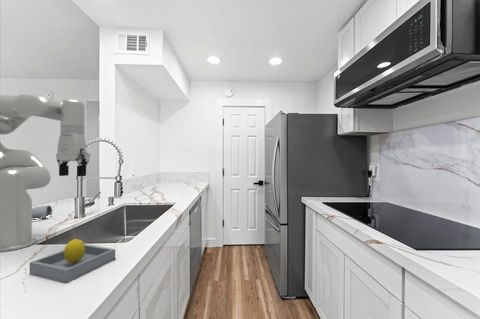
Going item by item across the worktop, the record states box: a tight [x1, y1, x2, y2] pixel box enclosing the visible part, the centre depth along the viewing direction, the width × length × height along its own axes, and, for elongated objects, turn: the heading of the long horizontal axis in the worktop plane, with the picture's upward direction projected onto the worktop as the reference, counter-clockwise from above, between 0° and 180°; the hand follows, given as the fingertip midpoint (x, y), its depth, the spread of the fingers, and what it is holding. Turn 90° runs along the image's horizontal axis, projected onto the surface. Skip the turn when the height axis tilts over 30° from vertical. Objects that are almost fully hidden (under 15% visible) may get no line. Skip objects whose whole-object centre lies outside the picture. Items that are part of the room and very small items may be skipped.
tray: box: [29, 243, 116, 284], centre depth 73 cm, size 16×16×4 cm
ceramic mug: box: [32, 205, 53, 220], centre depth 132 cm, size 11×8×8 cm
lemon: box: [63, 238, 85, 264], centre depth 73 cm, size 6×6×8 cm
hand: (72, 175), depth 87 cm, fingers open, 9 cm apart
